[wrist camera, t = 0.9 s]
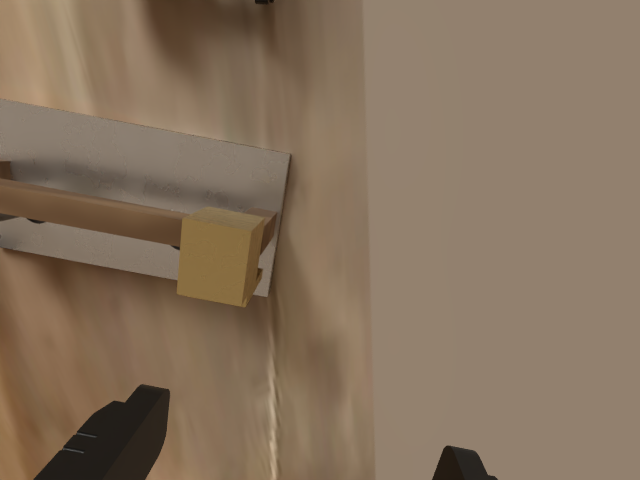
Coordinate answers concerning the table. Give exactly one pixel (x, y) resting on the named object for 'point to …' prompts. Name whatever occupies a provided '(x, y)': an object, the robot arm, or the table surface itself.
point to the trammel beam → (100, 212)
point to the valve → (263, 1)
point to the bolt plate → (131, 183)
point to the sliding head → (220, 256)
